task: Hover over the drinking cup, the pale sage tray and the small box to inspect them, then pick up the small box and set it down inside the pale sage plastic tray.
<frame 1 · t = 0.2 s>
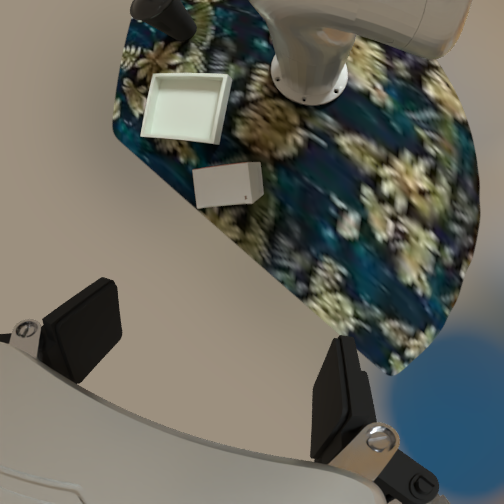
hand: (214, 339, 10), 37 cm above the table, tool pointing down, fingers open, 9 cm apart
small box: (239, 180, 45), on the table
drinking cup: (185, 31, 37), on the table
tray: (187, 108, 42), on the table
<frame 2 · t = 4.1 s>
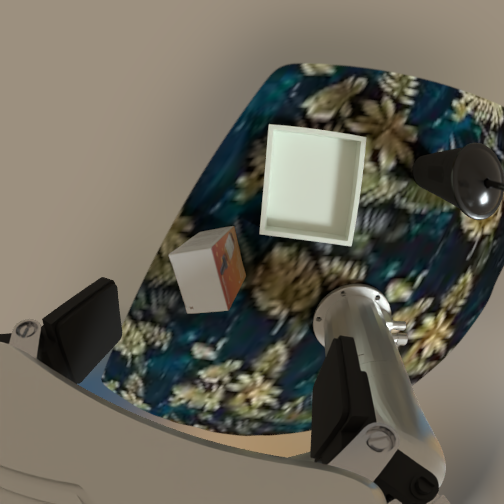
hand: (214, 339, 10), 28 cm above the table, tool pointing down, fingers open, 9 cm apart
small box: (223, 253, 40), on the table
drinking cup: (426, 172, 31), on the table
tray: (311, 183, 35), on the table
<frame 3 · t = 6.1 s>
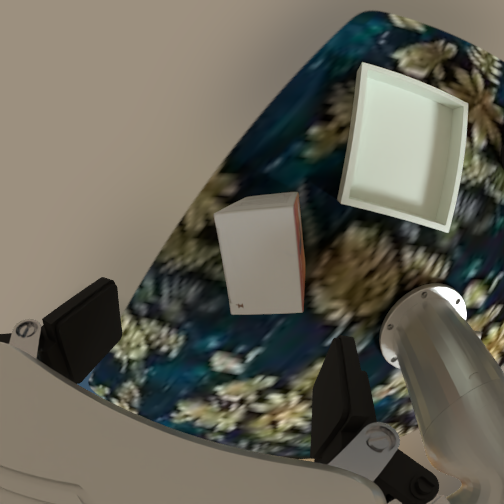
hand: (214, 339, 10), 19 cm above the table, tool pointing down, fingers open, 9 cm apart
small box: (276, 230, 29), on the table
tray: (403, 148, 23), on the table
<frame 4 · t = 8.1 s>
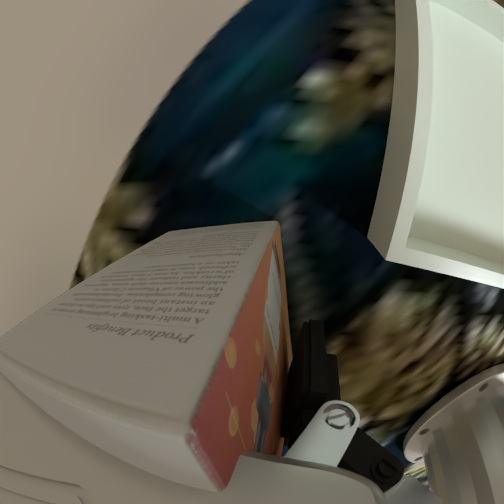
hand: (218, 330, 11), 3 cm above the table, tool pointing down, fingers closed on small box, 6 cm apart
small box: (234, 298, 14), on the table, touching gripper
tray: (491, 133, 8), on the table
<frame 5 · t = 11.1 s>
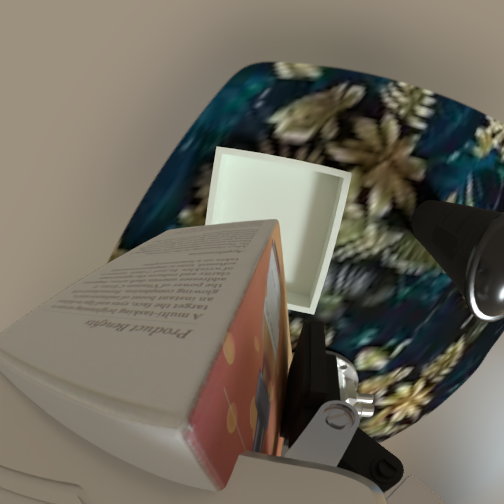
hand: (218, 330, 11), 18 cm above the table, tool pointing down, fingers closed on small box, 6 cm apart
small box: (234, 296, 14), point 15 cm above the table, touching gripper
drinking cup: (429, 222, 24), on the table
tray: (272, 227, 27), on the table
when the fingers open (5 cm above the table, at t = 14.0 s): small box drops 2 cm, resting on tray.
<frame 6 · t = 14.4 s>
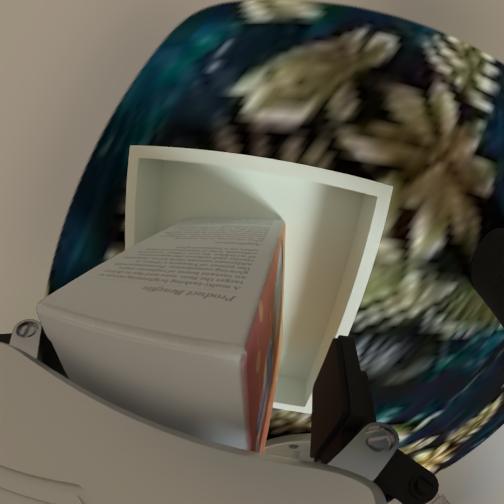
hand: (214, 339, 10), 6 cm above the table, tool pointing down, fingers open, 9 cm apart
small box: (237, 283, 16), resting on tray
drinking cup: (493, 262, 13), on the table
tray: (243, 280, 16), on the table
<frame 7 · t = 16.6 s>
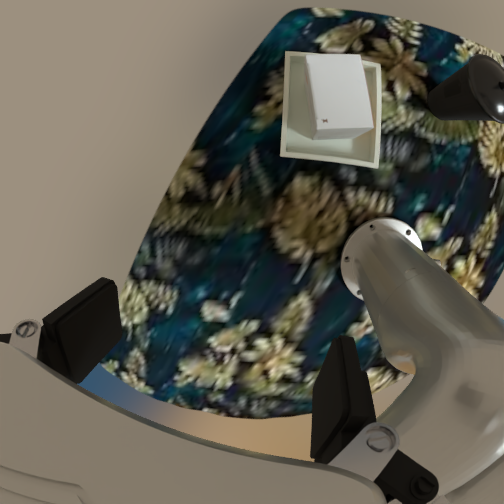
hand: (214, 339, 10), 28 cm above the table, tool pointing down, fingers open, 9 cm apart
small box: (329, 110, 30), resting on tray
drinking cup: (440, 104, 27), on the table
tray: (330, 110, 30), on the table
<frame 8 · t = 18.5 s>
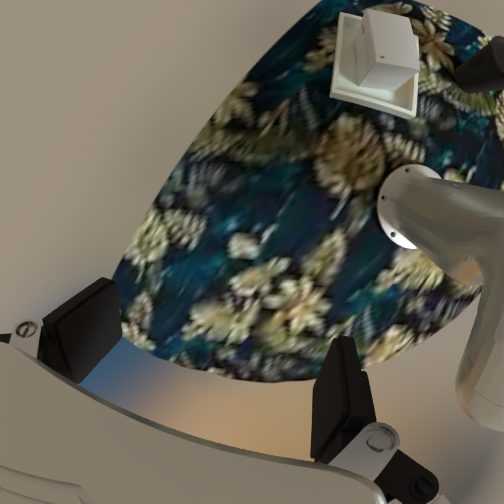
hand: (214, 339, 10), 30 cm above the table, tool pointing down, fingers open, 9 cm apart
small box: (373, 65, 29), resting on tray
drinking cup: (464, 80, 26), on the table
tray: (374, 66, 29), on the table
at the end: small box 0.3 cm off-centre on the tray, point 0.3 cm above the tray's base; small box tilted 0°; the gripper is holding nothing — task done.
